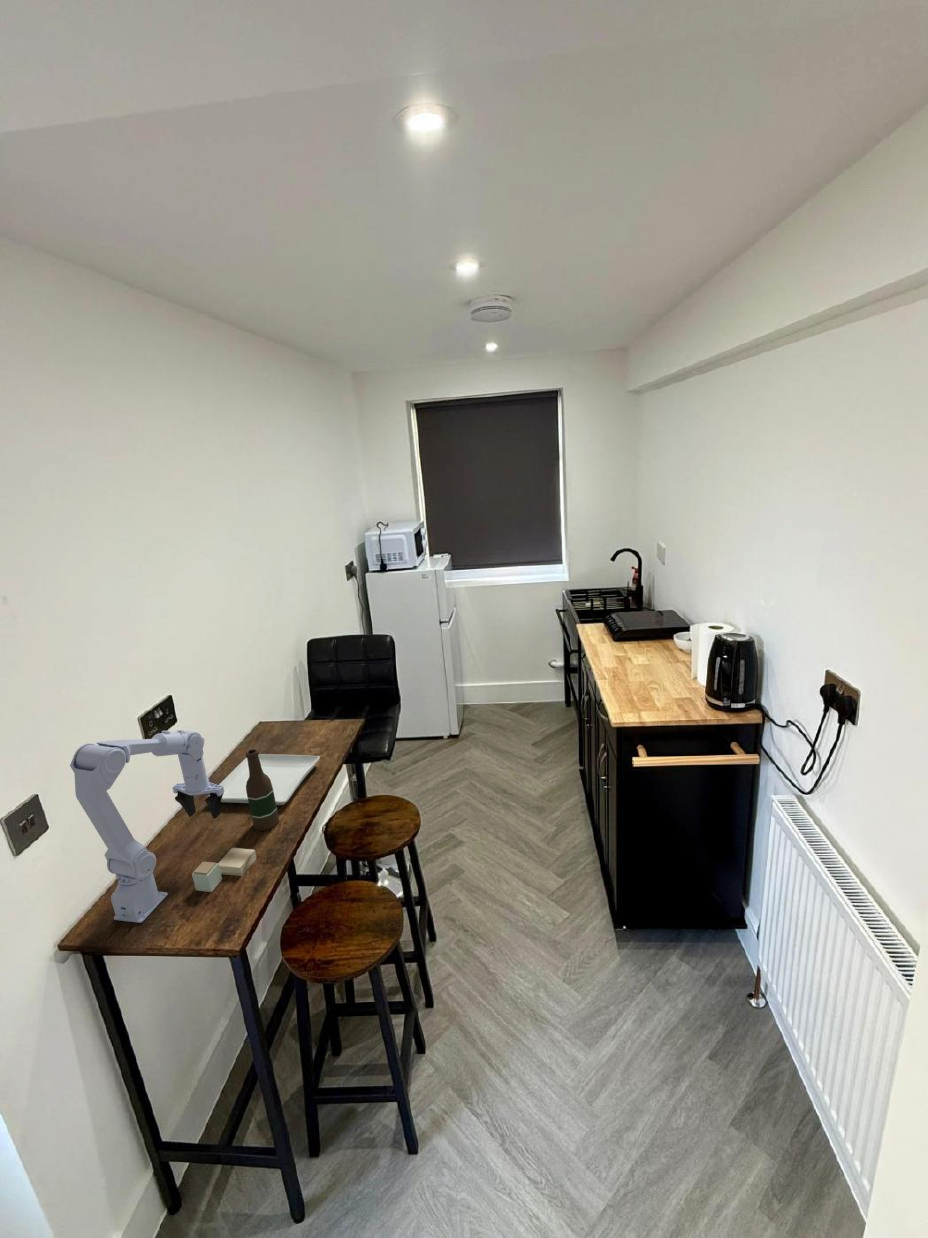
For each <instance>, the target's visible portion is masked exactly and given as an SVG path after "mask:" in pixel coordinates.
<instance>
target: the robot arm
mask: <svg viewBox="0 0 928 1238" xmlns="http://www.w3.org/2000/svg"><path fill="white" fill-rule="evenodd" d="M204 746H205V737H202V735H201V734H200V733H199V732H196V731H194V732H193V731H187V730H182V729H181V730H176V731H175V732H171V731H170V730H161V733H160V732H159V733H155V735H153V736H152V737H151V738H146V739H145V738H144V739H143V738H141V739H138V738H137V739H116V740H105V741H104V740H102V741H97V742H96V744H94V743H85V744H83V745H81V746H80V747H79V748H78V749H77V750H76V751H75V753H74V755H73V756H72V757H73V758H72V759H71V761H70V764H69V767H70V769H71V770H72V772H73V773H74V787H75V789H74V791H75V797H76V800H77V801H78V802H79V805H80V806H81V808H82V809H83V811H84V812H85V814H86V816H87V817H88V818H89V820H90V822H91V824H92V825H93V827H94V828H95V830H96V832H97V833H98V835H99V837H100V838H101V840H102V841H103V843H104V845H105V846H106V848H107V850H106V852H105V853H104V854H103V855H104V857H105V859H106V868H107V871H109V873H110V874H113V875H115V877H116V879H117V880H118V882H117V886H116V888H115V890H114V891H113V892H112V894H111V896H110V901H111V904H112V908H113V911H114V914H115V915H114V917H113V919H114V921H123V922H131V923H139V924H140V923H143V922H144V921H145V920H146V919H147V918H148V917H149V915H151V913H152V912H153V911H154V910H155V909H156V908H157V907H158V906H159V905H160V903H161V902H163V900H164V899H165V898H166V897H167V896H168V895H169V894H168V892H165V891H159V890H158V887H157V884H156V879H155V876H154V869H155V868H156V865H157V857H156V855H155V854H154V853H153V852H151V851H149V849H148V848H146V846H145V845H143V844H142V843H140V841H138V840H136V839H135V838H134V836H133V834H132V833H131V831H130V829H129V827H128V825H127V824H126V823H125V822H126V821H125V820H124V818H123V817H122V815H121V813H120V812H119V810H118V808H117V806H116V804H115V803H114V801H113V800H112V798H111V796H110V795H109V793H108V790H110V789H111V787H112V786H113V785H114V783H115V782H116V780H117V778H118V777H119V776H120V774H121V773H122V771H123V770H124V768H125V766H126V764H128V763H130V760H131V756H135V755H136V756H137V755H142V754H149V753H151V754H152V755H154V756H155V757H164V756H173V755H174V756H175V755H177V756H178V757H177V758H178V761H179V765H180V769H181V774H182V778H183V781H184V782H183V783H181V782H180V783H178V782H177V783H176V784H174V785H173V786H172V791H173V794H176V796H175V797H174V800H175V802H177V803H178V804H179V805H180V806H181V807H182V808H183V809H184V811H185V812H186V814H187V816H188V817H189V818H191V817H193V816H194V815H195V814H196V805H195V799H194V797H195V796H198V795H206V794H207V795H208V796H206V798H205V799H204V802H205V803H206V805H207V806H208V808H209V810H210V813H211V817H212V819H217V818H218V817H219V816H220V814H221V813H220V810H221V803H222V802H221V799H222V796H223V793H224V788H223V786H219V784H217V783H216V784H215V783H213V782H210V778H208V775H207V770H206V766H205V760H204V757H203V756H204ZM209 795H210V796H209Z"/></svg>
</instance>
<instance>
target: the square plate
mask: <svg viewBox="0 0 928 1238" xmlns="http://www.w3.org/2000/svg"><path fill="white" fill-rule="evenodd" d="M258 756H259V760H260V764H261V767H262V770H263V772H264V774H266V775H267V776H268V777H269V778H270V780H271V783H272V787H273V791H274V796H275V801H276V806H283V805H285V804H286V803H287V802H289V800H290V798H291V797H292V796H293V794H294V793H295V791H296V790H297V789H298V788H299V786H300V785H301V783H302V782H303V780H305V778H306V777H307V776H308V774H309V773H310V772H311V771H312V770H313V768H315V765H316V764H317V763H318V762H319V760H320V759H321V758H320V757H321V756H319V755H304V754H303V755H302V754H278V753H277V754H273V753H270V754H269V753H268V754H265V753H263V754H262V753H259V755H258ZM248 778H249V767H248V760H247V758H246V757H245V758H244V759H243V760H242V761H241V762H240V763H239V764H238V765H237V766H236V767H235V768H234V769H233V770H232V771H231V772H230V773H229V774H228V775H227V776H226V777H225V778H224V779H223V780H222V781H221V782H220V783H219V784H218V785H219V786H223V788H224V793H223V796H222V799H221V803H235V804H238V803H240V804H249V802H248V798H247V792H246V783H247V780H248ZM208 796H210V794H208Z"/></svg>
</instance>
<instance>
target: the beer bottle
mask: <svg viewBox="0 0 928 1238" xmlns="http://www.w3.org/2000/svg"><path fill="white" fill-rule="evenodd" d="M259 754H260V752H259V750H258V749H257V748H252V749H249V750H246V752H245V759H246V758H247V760H248V767H249V778H248V780H247V783H246V792H247V798H248V802H249V803H248V807H249V812H250V816H251V821H252V824H253V828H254V830H257V831H262V832H263V831H264V832H265V831H267V830H271V829H273V828H274V827H275V826H276V825H278V823H280V817H279V813H278V807H277V806H278V805H276V801H275V796H274V791H273V787H272V783H271V780H270V778H269V777H268V776H267V775H266V774H264V772H263V770H262V767H261V764H260V760H259V756H258V755H259Z"/></svg>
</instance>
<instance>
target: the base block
mask: <svg viewBox="0 0 928 1238" xmlns="http://www.w3.org/2000/svg"><path fill="white" fill-rule="evenodd" d="M256 859H257V853H256V850H255V849H251V848H240V847H239V848H238V847H231V849H229V851H228V852H227V853H226V854H225V855H224V856H223V858H222V859H221V860H220V861H219V862H217V863H218V864H219V868H220V872H221V875H228V876H236V877H243V876H244V875H245V874H246V872H247V871H248V869H249V868H250V867H251V866H252V865H253V863H254V862H255V861H256Z"/></svg>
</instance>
